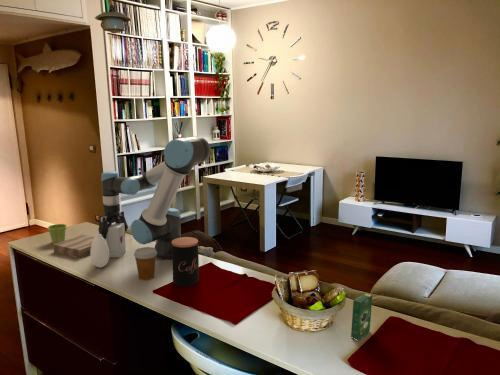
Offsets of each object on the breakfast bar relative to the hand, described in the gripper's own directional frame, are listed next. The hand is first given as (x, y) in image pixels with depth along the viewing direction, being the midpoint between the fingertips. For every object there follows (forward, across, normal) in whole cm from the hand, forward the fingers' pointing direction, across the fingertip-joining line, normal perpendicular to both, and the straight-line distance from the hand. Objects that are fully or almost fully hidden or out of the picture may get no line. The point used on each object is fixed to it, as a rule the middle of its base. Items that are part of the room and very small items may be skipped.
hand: (114, 247), depth 203 cm
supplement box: (+4, 0, 0) cm, 4 cm away
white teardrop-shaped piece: (+4, +15, +6) cm, 17 cm away
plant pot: (+4, -1, -40) cm, 40 cm away
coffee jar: (+4, +12, +50) cm, 52 cm away
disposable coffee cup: (+4, +15, +32) cm, 36 cm away
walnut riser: (+4, +2, -20) cm, 20 cm away
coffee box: (+4, +21, +123) cm, 125 cm away
